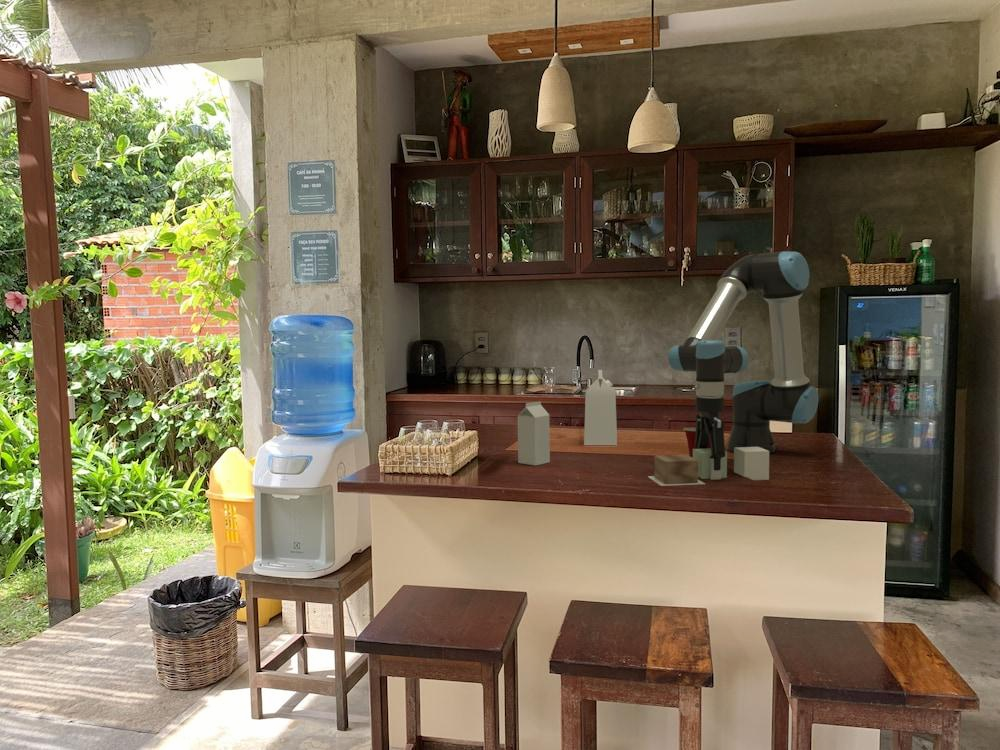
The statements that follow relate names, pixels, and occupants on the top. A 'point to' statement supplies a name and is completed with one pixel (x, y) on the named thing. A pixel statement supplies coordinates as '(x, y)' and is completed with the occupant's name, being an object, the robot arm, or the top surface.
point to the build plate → (672, 484)
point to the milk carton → (533, 435)
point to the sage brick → (708, 463)
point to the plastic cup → (692, 439)
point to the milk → (600, 413)
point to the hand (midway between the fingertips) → (709, 478)
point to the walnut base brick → (676, 469)
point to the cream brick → (752, 462)
